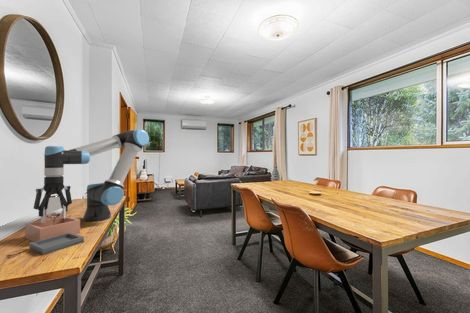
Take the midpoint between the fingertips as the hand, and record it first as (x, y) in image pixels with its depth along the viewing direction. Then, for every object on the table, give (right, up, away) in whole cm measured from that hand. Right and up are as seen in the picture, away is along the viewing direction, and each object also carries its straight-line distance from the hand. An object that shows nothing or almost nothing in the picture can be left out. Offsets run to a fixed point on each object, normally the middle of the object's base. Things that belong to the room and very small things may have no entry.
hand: (53, 220), depth 106 cm
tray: (+13, -7, -12) cm, 19 cm away
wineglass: (0, -8, 0) cm, 8 cm away
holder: (0, -8, 0) cm, 8 cm away
